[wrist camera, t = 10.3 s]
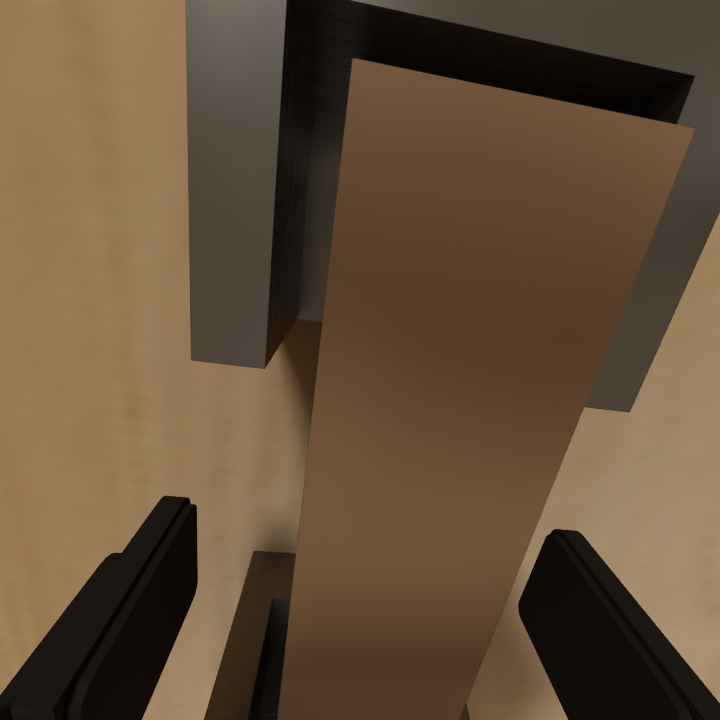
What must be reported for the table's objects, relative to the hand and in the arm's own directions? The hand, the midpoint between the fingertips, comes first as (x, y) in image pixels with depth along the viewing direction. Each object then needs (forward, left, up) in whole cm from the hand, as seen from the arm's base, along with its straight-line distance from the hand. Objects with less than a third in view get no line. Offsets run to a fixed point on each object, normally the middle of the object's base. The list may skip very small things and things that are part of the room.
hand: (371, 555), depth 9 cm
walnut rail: (0, 0, -3) cm, 3 cm away
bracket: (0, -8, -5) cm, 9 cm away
